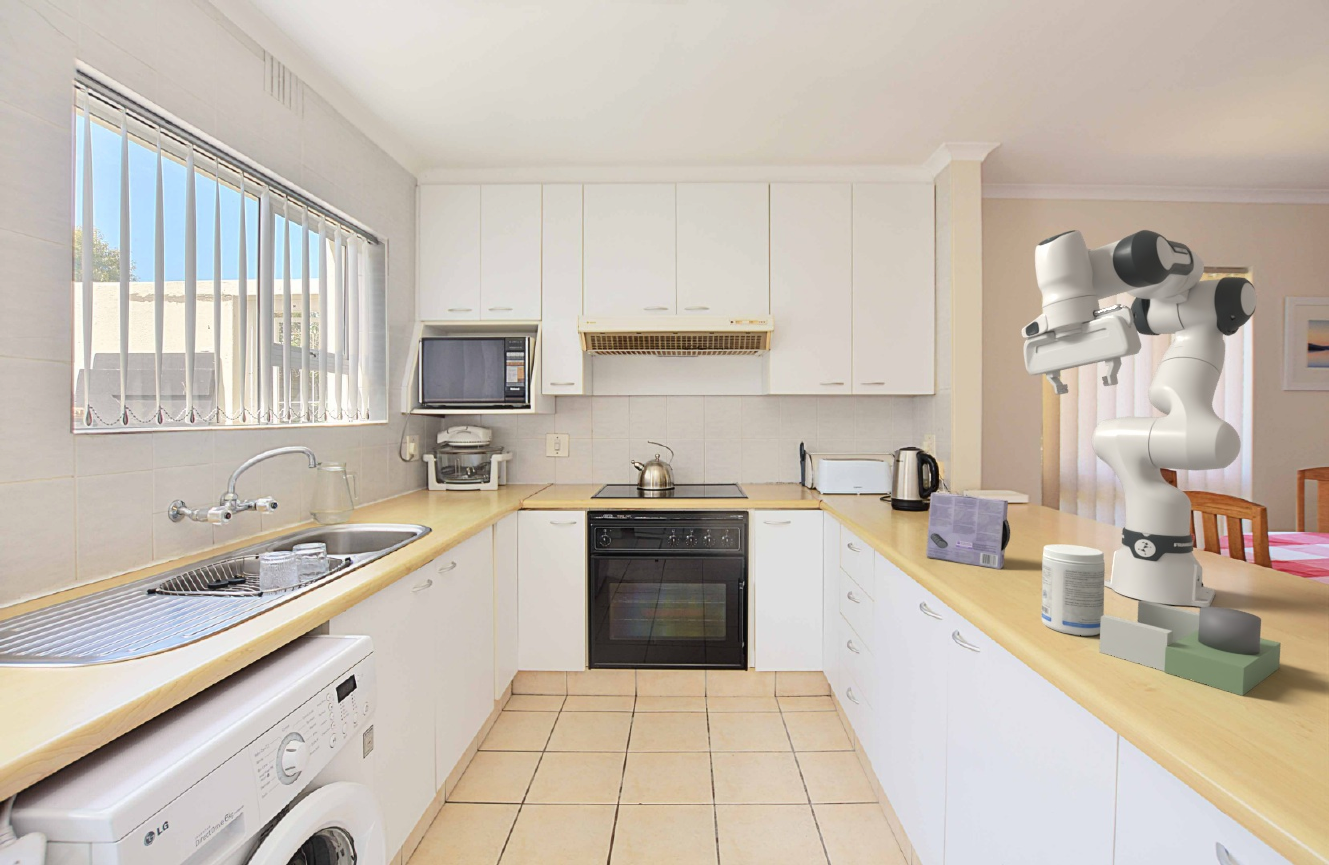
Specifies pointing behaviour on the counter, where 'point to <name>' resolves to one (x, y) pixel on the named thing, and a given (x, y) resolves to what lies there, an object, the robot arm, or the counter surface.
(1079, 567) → the supplement tub
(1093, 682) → the counter surface
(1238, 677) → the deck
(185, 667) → the counter surface
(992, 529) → the cake pan box
